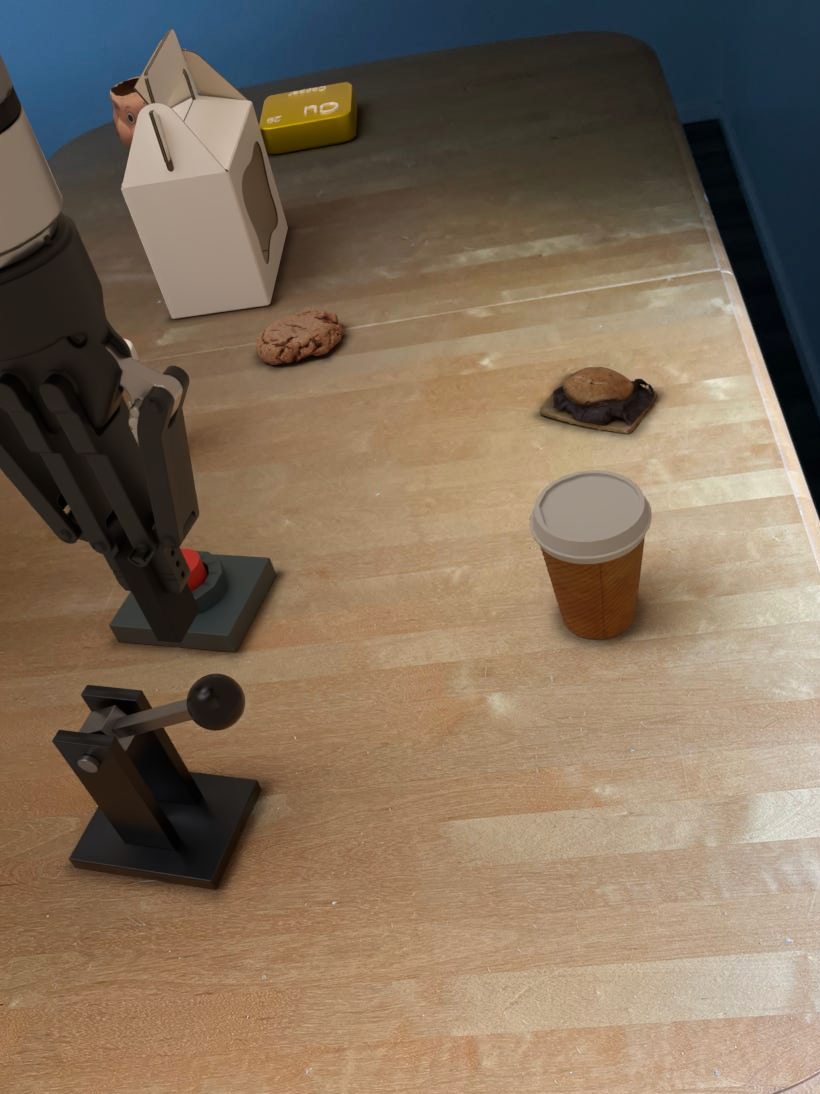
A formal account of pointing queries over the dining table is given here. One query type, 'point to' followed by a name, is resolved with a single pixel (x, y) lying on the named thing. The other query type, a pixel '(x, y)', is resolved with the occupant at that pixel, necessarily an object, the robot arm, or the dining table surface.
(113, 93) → the decorative planter
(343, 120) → the element tile
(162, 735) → the lever stand
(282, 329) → the cookie
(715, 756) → the dining table surface
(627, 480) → the disposable coffee cup
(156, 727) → the lever handle
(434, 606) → the dining table surface
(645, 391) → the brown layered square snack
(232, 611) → the control block
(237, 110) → the gable box
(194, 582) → the button
